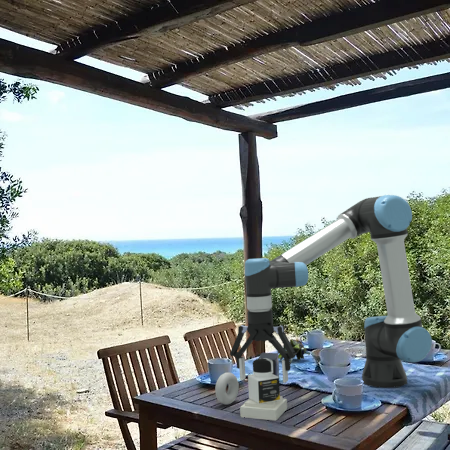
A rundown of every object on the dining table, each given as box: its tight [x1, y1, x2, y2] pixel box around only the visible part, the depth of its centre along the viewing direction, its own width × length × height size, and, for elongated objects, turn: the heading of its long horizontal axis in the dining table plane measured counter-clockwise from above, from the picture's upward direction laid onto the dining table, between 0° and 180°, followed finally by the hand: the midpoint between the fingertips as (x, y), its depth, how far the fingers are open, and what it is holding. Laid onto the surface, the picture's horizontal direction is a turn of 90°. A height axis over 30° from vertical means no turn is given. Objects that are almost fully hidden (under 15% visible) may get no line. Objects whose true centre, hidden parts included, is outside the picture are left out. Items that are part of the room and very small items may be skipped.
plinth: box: [239, 395, 288, 421], centre depth 164 cm, size 11×11×4 cm
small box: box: [257, 352, 280, 378], centre depth 194 cm, size 11×6×10 cm, turn 168°
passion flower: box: [277, 338, 311, 364], centre depth 226 cm, size 11×11×12 cm
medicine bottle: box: [247, 358, 281, 404], centre depth 164 cm, size 7×7×12 cm
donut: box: [214, 371, 240, 406], centre depth 174 cm, size 10×3×10 cm, turn 141°
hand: (264, 380), depth 164 cm, fingers open, 13 cm apart
